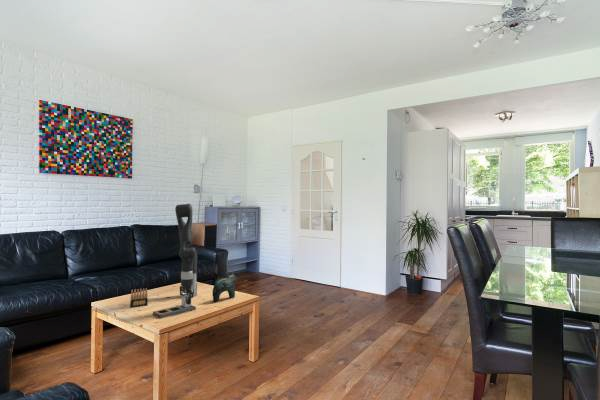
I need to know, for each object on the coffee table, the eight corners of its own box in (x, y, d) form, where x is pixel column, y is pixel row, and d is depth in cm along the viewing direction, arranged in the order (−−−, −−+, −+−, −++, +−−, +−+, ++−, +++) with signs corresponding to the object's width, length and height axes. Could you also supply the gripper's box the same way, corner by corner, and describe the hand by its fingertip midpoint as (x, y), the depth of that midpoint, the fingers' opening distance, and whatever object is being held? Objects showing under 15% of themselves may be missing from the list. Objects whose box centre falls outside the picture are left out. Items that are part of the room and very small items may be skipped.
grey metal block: (187, 308, 223) (187, 294, 223) (190, 309, 220) (191, 295, 221) (181, 309, 220) (181, 295, 220) (184, 311, 217) (185, 297, 217)
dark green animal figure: (232, 296, 255) (233, 270, 255) (238, 297, 251) (238, 271, 251) (210, 301, 239) (211, 273, 240) (216, 303, 235) (217, 275, 236)
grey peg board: (187, 306, 226) (187, 303, 226) (195, 309, 220) (195, 306, 220) (152, 314, 208) (152, 311, 208) (160, 318, 202) (160, 314, 202)
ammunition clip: (130, 307, 221) (130, 289, 222) (129, 307, 223) (130, 289, 223) (147, 305, 227) (148, 287, 228) (147, 304, 229) (147, 287, 229)
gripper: (198, 278, 219) (197, 304, 218) (186, 275, 228) (185, 300, 228) (187, 280, 213) (187, 306, 213) (176, 277, 222) (175, 302, 222)
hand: (186, 303), depth 220 cm, fingers open, 6 cm apart
